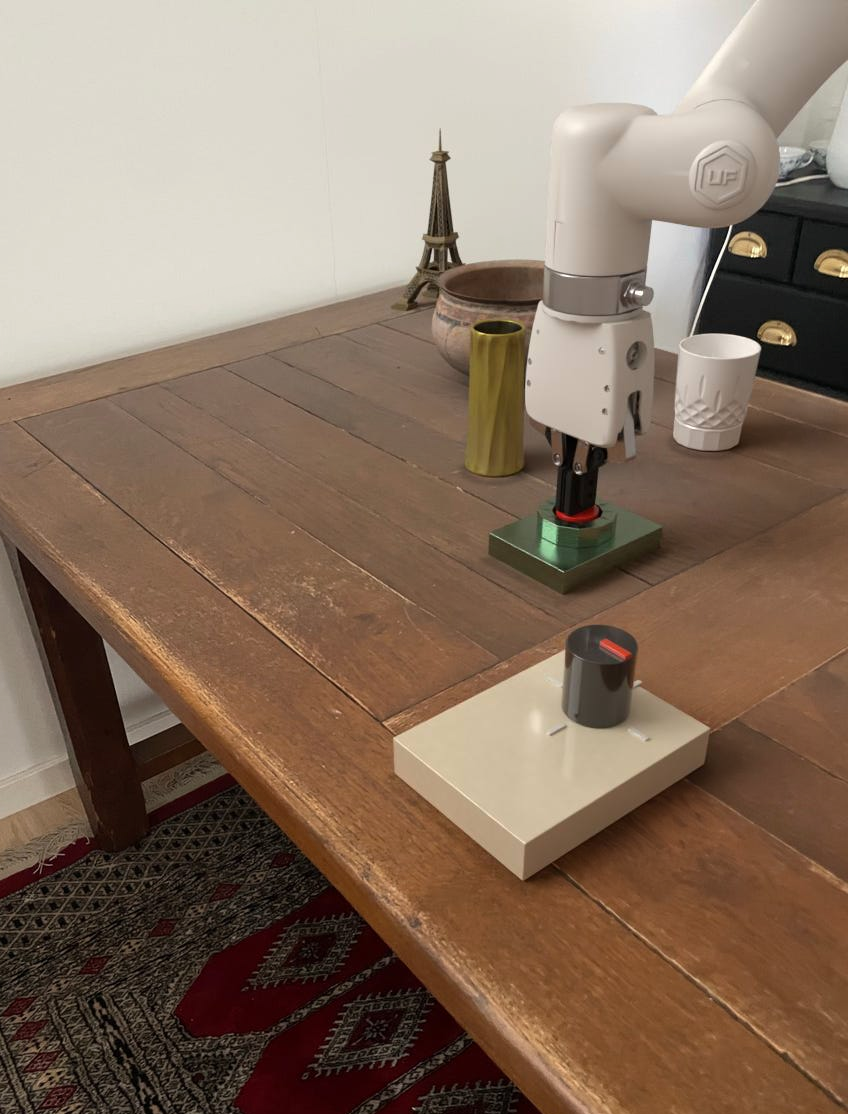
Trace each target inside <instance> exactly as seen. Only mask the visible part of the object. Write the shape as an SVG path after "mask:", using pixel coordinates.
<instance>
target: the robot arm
mask: <svg viewBox="0 0 848 1114" xmlns="http://www.w3.org/2000/svg"><path fill="white" fill-rule="evenodd" d="M847 61H848V0H755V2H754V3H753V4H752V5H751V7H750V8H749V9H748V10H747V12H746V13H745V14H744V16H743V17H742V18H741V20H740V21H739V22H738V23H737V25H736V26H735V27H734V28H733V30H732V31H731V32H730V34H729V35H728V36H727V38H725V41H724V42H723V43H722V44H721V46H720V47H719V48H718V50H717V51H716V52H715V54H714V55H712V58H711V59H710V60H709V62H708V63H707V64H706V66H705V67H704V69H703V70H701V72H700V74H699V75H698V77H697V78H696V79H695V81H694V82H693V84H691V86H690V87H689V89H688V90H687V92H686V93H685V94H684V96H683V97H682V98H681V99H680V101H679V103H678V104H677V105H676V107H675V108H674V110H673V111H672V113H671V114H658V113H657V112H656V111H655V110H654V109H653V108H651V107H648V106H647V105H643V104H639V103H637V104H636V103H626V102H597V103H596V102H595V103H585V104H580V105H576V106H575V105H574V106H572V107H569V108H566V109H565V110H563V111H562V112H561V113H560V114H559V115H558V116H557V118H556V120H555V122H554V124H553V127H552V131H551V139H550V140H551V141H550V155H549V173H548V174H549V175H548V189H547V190H548V191H547V206H546V207H547V209H546V210H547V211H546V228H545V231H546V232H545V245H544V246H545V247H544V261H545V264H544V277H543V295H542V300H541V301H540V302H539V304H538V307H537V311H536V315H535V319H534V324H533V328H532V333H531V339H530V345H529V352H528V360H527V369H526V382H525V389H524V406H525V411H526V413H527V415H528V416H529V424H530V426H531V427H532V428H533V429H535V430H536V431H537V432H538V433H540V434H541V435H543V436H545V438H546V440H547V442H548V445H549V446H550V448H551V460H552V463H553V464H554V465H555V466H557V476H556V489H555V490H556V492H555V496H556V504H555V509H556V510H557V511H559V512H564V513H565V514H566V515H568V516H570V517H571V516H573V515H576V514H578V513H580V512H583V511H585V510H587V509H590V508H592V507H594V505H595V501H596V496H597V490H598V480H599V478H598V477H599V469H600V468H602V467H604V466H605V465H606V464H607V463H613V464H626V463H628V462H630V461H633V460H635V459H636V458H637V443H636V437H639V436H644V435H646V434H648V432H649V431H650V427H651V422H652V416H653V415H652V413H653V406H654V405H653V404H654V403H653V402H654V390H655V389H654V388H655V337H654V327H653V321H652V314H651V312H650V311H647V310H645V309H643V308H644V307H647V306H649V305H650V304H651V303H652V302H653V299H654V295H655V292H654V289H653V288H652V287H651V286H647V285H646V281H647V272H648V261H649V254H650V253H649V252H650V243H651V234H652V224H653V221H655V222H663V223H668V224H673V225H680V226H687V227H692V228H701V229H720V228H721V229H722V228H726V227H730V226H734V225H736V224H737V225H738V224H739V223H742V222H744V221H745V220H747V219H749V218H750V217H752V216H753V215H755V214H756V213H757V212H758V211H759V210H760V209H761V208H762V207H763V206H764V205H765V204H766V203H767V202H768V200H769V198H770V197H771V196H772V194H773V192H774V190H775V188H776V185H777V183H778V180H779V177H780V172H781V171H780V170H781V152H780V146H779V143H778V138H779V137H780V136H781V135H782V134H783V132H784V131H785V130H786V129H787V127H788V126H789V125H790V124H791V123H792V122H793V120H794V119H795V117H796V116H797V115H798V114H799V113H800V111H801V110H802V109H803V108H804V107H805V105H806V104H807V103H808V102H809V101H810V100H811V98H813V96H814V95H815V94H817V92H818V91H819V90H820V88H821V87H822V86H823V85H824V84H825V83H826V82H827V81H829V79H830V78H831V77H832V75H833V74H834V73H835V72H837V71H838V70H839V69H840V68H841V67H842V66H843V65H844V64H845V63H846V62H847Z"/></svg>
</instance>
